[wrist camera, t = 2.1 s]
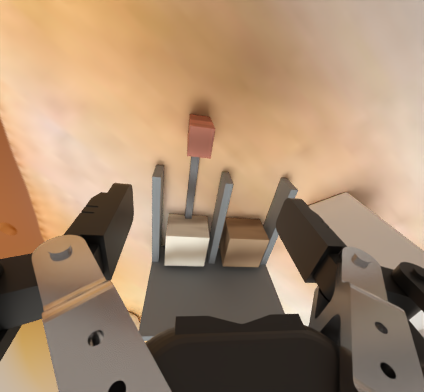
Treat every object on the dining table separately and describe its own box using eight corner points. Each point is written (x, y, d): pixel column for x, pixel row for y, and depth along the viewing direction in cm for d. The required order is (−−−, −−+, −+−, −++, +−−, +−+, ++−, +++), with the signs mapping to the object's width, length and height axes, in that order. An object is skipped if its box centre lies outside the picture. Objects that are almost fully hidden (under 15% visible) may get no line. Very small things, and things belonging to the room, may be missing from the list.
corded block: (174, 111, 24) (170, 123, 19) (224, 119, 25) (233, 131, 19) (167, 241, 34) (163, 271, 29) (202, 243, 35) (204, 271, 30)
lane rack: (156, 164, 27) (130, 239, 15) (287, 178, 30) (351, 248, 18) (155, 249, 35) (137, 340, 23) (258, 253, 38) (289, 335, 26)
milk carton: (303, 206, 33) (410, 334, 17) (346, 191, 32) (502, 310, 16) (308, 235, 37) (400, 362, 21) (347, 222, 36) (474, 343, 20)
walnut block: (224, 216, 33) (229, 238, 29) (259, 219, 34) (269, 240, 30) (218, 243, 36) (222, 266, 32) (250, 244, 37) (258, 267, 33)
